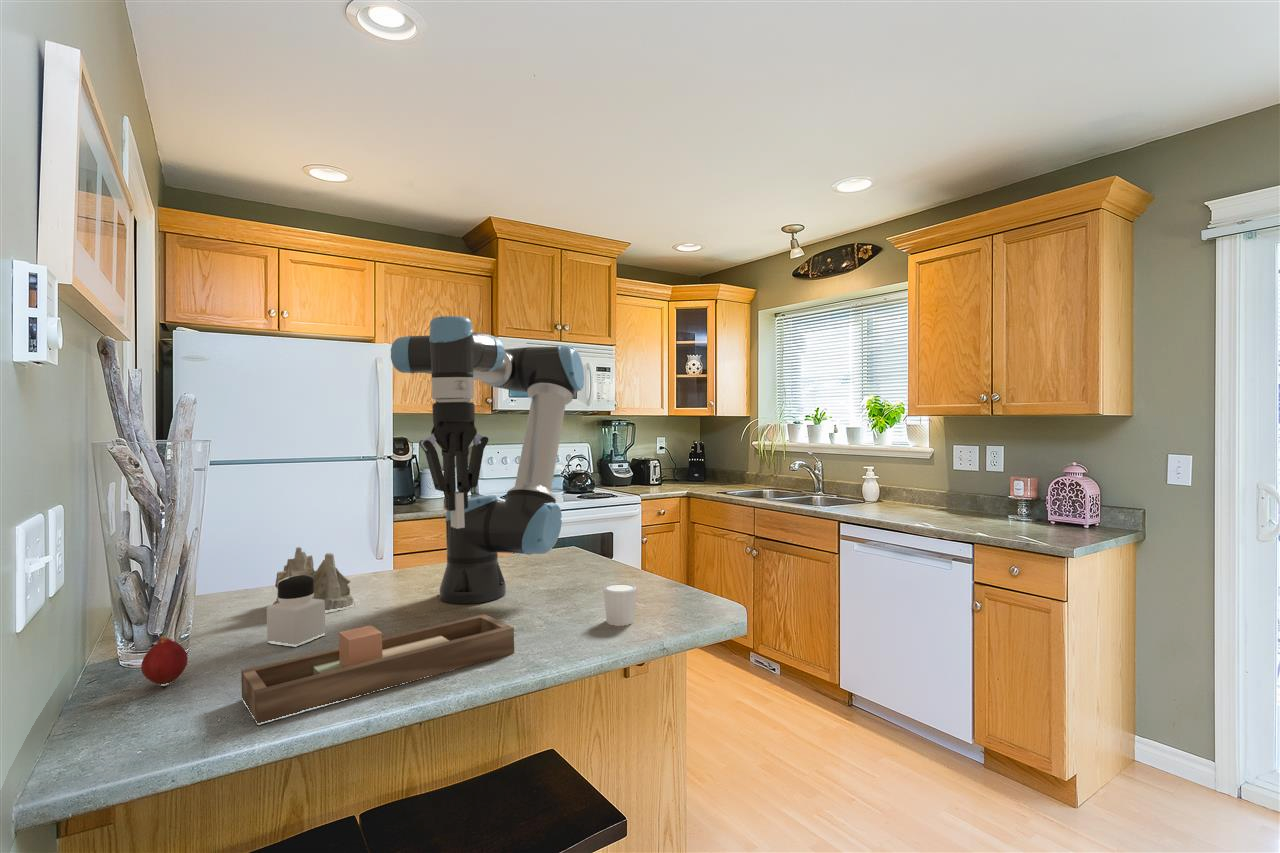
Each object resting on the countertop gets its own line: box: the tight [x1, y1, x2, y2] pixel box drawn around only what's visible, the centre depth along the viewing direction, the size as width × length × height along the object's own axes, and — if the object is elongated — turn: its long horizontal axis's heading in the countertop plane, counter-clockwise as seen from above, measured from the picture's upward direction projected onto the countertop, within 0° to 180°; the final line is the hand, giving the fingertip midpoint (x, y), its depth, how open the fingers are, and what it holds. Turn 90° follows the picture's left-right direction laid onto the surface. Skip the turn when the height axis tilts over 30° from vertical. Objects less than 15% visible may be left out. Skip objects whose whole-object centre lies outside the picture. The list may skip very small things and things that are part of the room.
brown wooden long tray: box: [240, 613, 515, 723], centre depth 105 cm, size 11×40×4 cm, turn 131°
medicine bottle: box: [266, 575, 326, 645], centre depth 122 cm, size 7×7×12 cm
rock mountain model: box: [272, 546, 355, 610], centre depth 145 cm, size 16×16×15 cm
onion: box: [141, 636, 189, 686], centre depth 102 cm, size 6×6×8 cm
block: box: [338, 625, 383, 668], centre depth 102 cm, size 5×5×5 cm
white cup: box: [602, 583, 637, 627], centre depth 131 cm, size 7×7×7 cm
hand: (457, 526), depth 120 cm, fingers closed
